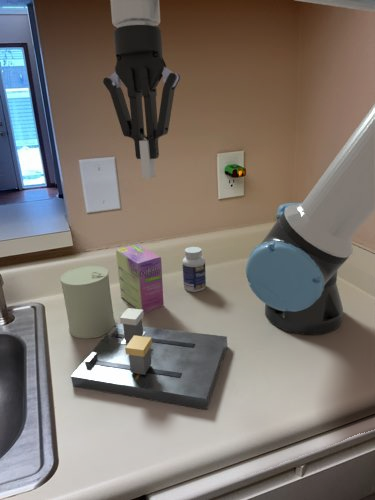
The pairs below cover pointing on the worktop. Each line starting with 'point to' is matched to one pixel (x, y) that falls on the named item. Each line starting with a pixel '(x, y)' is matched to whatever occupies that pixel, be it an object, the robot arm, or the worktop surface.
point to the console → (156, 367)
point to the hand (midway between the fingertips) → (149, 177)
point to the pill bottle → (194, 270)
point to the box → (140, 277)
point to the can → (88, 301)
